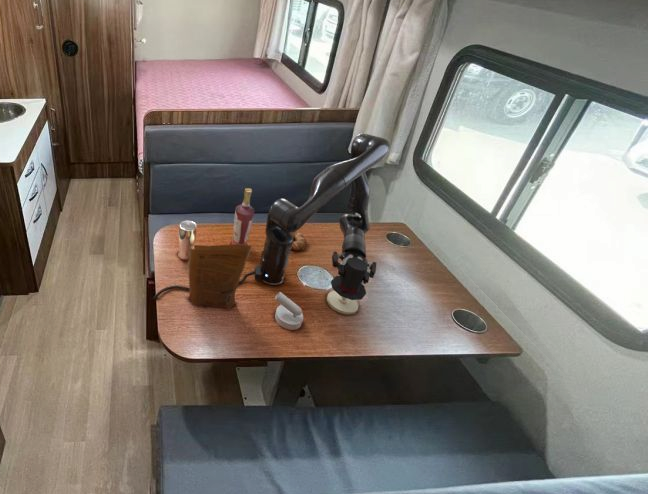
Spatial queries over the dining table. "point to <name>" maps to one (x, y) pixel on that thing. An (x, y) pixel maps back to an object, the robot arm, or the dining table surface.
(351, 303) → the hat stand
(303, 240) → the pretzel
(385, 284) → the dining table surface
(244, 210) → the liquor
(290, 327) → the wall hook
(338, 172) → the robot arm
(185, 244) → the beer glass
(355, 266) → the hat
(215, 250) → the pancake mix bag
